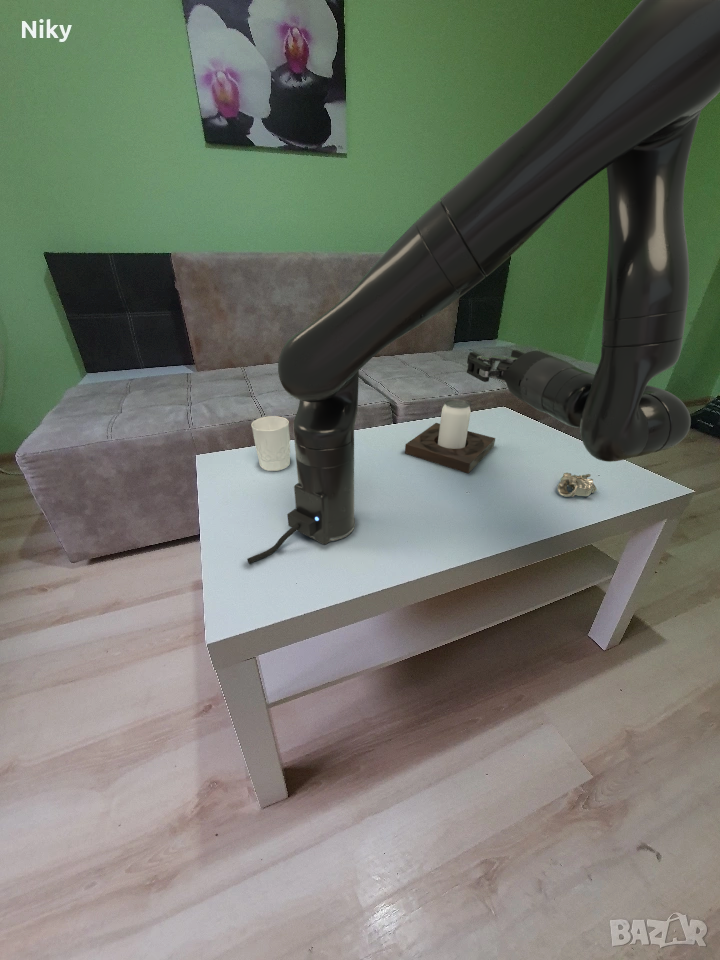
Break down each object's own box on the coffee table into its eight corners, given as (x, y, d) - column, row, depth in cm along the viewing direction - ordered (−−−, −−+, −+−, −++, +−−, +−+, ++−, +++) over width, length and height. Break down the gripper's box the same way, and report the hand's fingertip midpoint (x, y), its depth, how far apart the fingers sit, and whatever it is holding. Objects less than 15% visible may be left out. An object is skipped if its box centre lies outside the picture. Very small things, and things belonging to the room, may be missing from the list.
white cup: (289, 453, 92) (285, 414, 86) (295, 469, 85) (291, 427, 80) (255, 458, 89) (249, 418, 84) (259, 475, 83) (252, 432, 78)
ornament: (576, 479, 82) (581, 464, 80) (602, 497, 77) (608, 481, 75) (545, 485, 80) (549, 470, 78) (569, 503, 75) (574, 487, 73)
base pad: (468, 473, 84) (470, 463, 83) (404, 453, 92) (405, 444, 91) (493, 447, 95) (495, 438, 94) (434, 431, 103) (435, 422, 102)
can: (436, 443, 97) (442, 397, 90) (463, 445, 96) (470, 399, 90) (437, 455, 91) (443, 407, 85) (465, 457, 91) (473, 409, 84)
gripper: (594, 355, 57) (530, 333, 71) (507, 359, 55) (458, 336, 68) (578, 403, 61) (521, 374, 75) (496, 410, 59) (453, 378, 72)
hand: (491, 356), depth 71 cm, fingers open, 8 cm apart
